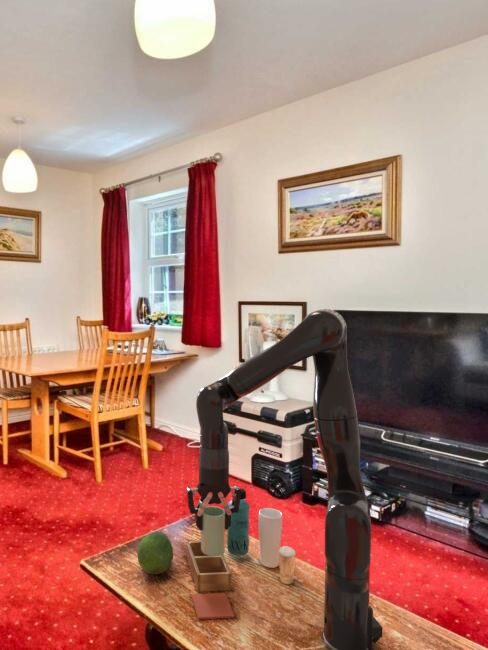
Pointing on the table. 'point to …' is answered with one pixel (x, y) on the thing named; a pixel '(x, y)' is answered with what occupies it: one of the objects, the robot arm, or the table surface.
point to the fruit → (155, 553)
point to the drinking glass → (270, 536)
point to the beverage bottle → (239, 528)
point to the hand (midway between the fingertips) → (213, 528)
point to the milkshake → (287, 564)
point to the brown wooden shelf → (207, 569)
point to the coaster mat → (212, 606)
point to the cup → (213, 531)
